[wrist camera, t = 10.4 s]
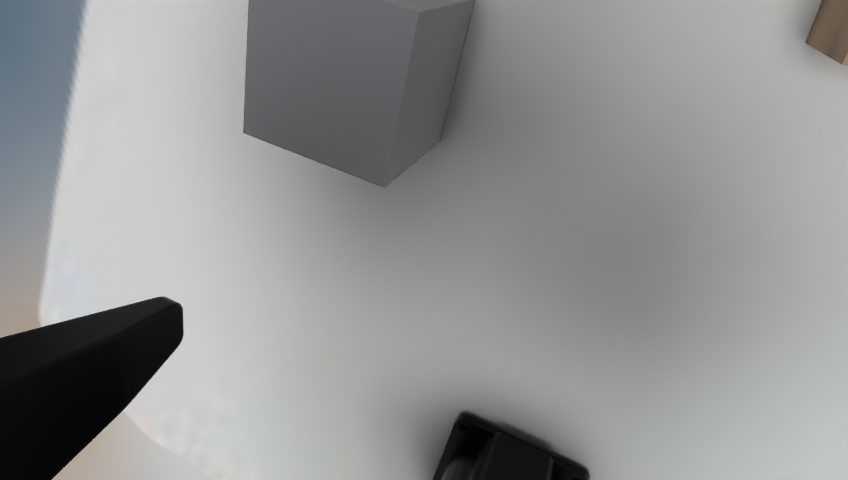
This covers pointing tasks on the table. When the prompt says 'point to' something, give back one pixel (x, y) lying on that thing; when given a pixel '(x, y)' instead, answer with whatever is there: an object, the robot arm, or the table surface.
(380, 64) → the charcoal cube
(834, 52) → the walnut block
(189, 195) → the table surface
